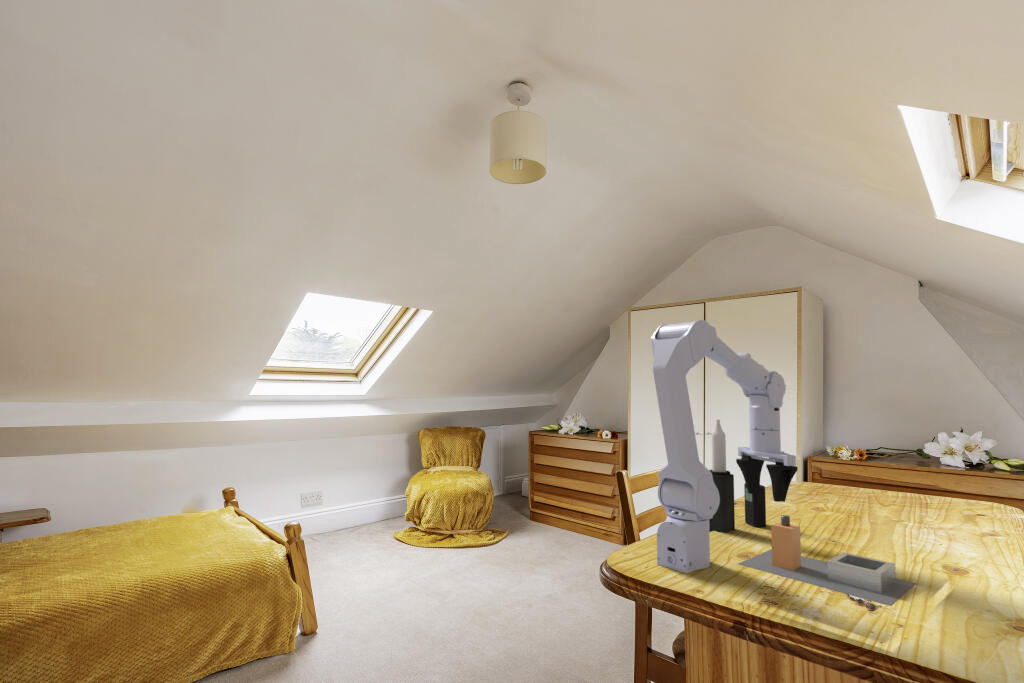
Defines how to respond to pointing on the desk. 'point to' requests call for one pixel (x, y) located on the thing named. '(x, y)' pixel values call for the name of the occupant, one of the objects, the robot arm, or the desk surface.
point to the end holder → (861, 572)
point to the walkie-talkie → (755, 507)
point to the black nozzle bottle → (722, 484)
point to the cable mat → (826, 578)
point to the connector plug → (786, 544)
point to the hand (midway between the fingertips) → (766, 497)
